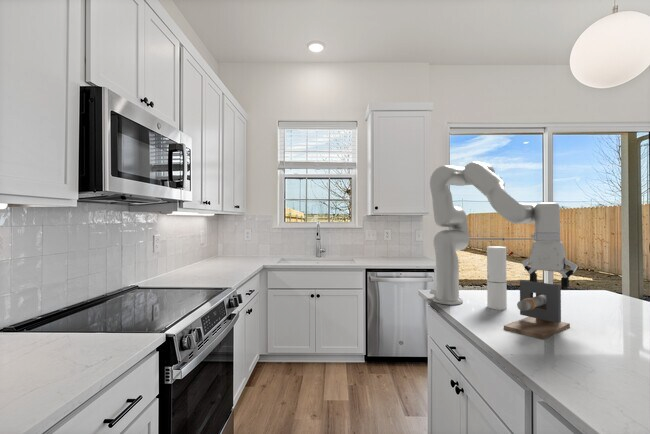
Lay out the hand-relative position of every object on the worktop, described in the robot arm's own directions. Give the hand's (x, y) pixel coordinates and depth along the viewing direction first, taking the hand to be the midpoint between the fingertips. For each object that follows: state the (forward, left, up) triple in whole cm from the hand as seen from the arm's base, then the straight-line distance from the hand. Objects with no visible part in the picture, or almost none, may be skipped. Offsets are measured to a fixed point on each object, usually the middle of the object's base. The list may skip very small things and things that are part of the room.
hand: (548, 286), depth 121 cm
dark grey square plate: (0, -6, -10) cm, 12 cm away
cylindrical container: (-22, +7, -13) cm, 27 cm away
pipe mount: (0, -8, -13) cm, 15 cm away
